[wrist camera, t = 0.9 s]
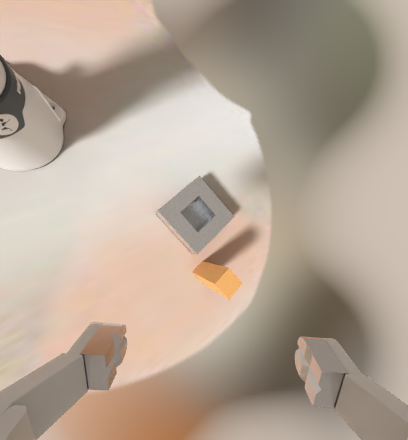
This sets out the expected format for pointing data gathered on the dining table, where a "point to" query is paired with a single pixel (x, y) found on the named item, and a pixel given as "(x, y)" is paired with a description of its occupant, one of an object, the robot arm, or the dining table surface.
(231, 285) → the rectangular peg
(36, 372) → the robot arm
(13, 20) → the dining table surface
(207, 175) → the dining table surface
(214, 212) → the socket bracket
